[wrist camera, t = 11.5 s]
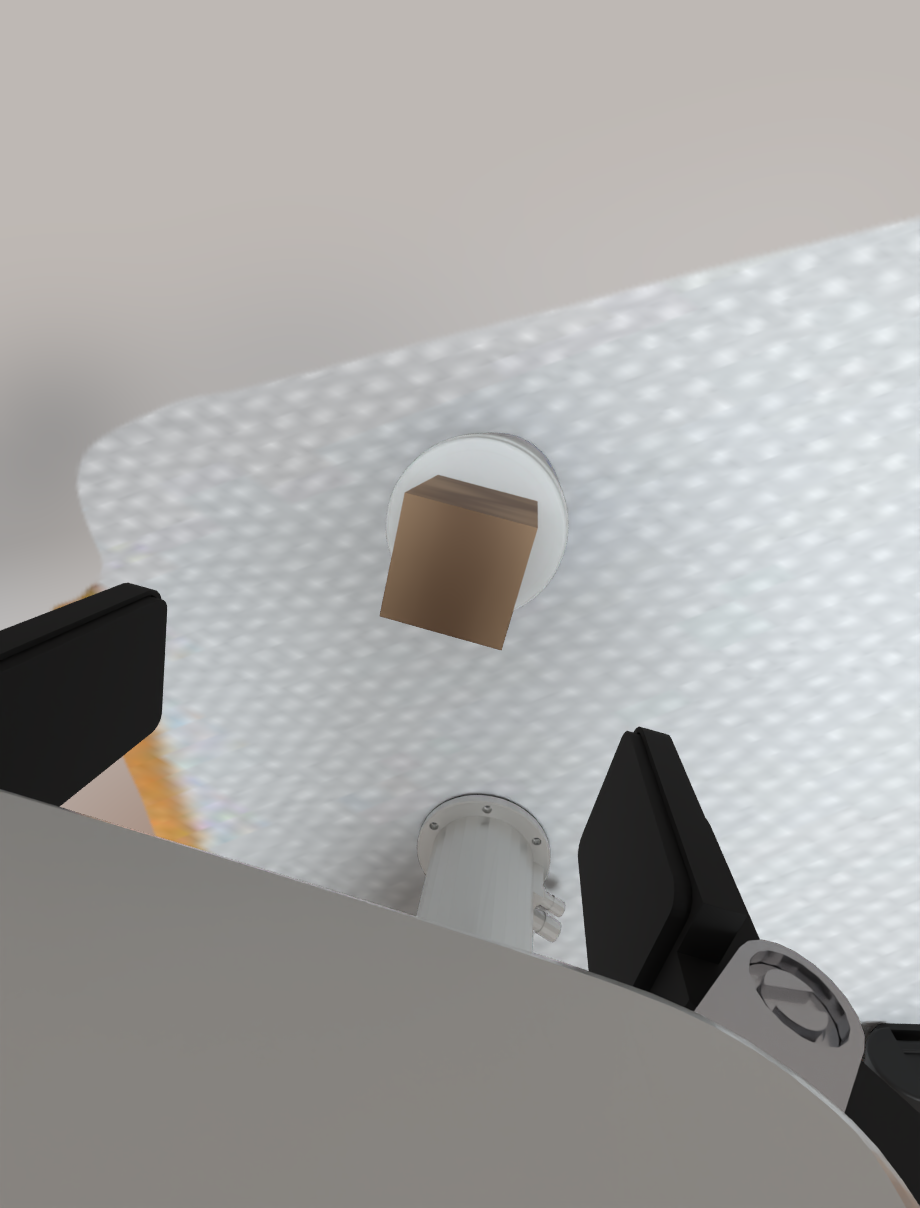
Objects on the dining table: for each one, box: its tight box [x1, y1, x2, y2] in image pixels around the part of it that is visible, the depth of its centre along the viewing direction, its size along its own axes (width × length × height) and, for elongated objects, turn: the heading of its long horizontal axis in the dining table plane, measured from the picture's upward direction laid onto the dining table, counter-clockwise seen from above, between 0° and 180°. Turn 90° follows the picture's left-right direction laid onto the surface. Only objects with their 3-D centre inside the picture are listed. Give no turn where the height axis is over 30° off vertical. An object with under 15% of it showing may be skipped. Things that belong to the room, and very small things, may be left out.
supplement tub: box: [386, 433, 568, 611], centre depth 34 cm, size 10×10×15 cm
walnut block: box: [380, 475, 538, 650], centre depth 23 cm, size 5×5×7 cm
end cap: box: [864, 1023, 920, 1113], centre depth 50 cm, size 10×7×7 cm
